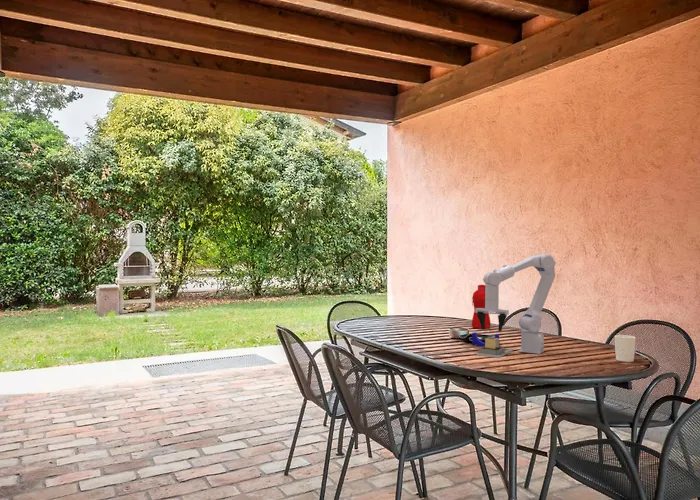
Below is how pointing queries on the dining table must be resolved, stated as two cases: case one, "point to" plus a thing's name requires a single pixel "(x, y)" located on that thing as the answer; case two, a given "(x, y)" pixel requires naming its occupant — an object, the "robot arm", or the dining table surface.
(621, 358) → the white cup
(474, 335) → the cable clip
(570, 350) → the dining table surface
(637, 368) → the dining table surface
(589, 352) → the dining table surface
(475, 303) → the water bottle
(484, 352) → the grey base plate
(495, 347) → the tan rectangular block
